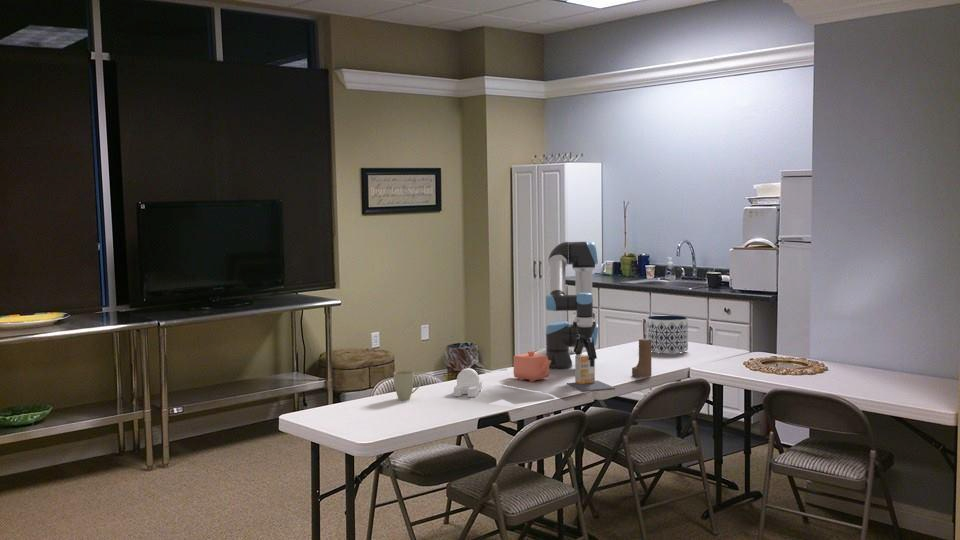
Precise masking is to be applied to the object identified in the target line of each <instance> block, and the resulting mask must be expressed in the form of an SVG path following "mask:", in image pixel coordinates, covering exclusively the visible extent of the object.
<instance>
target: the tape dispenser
mask: <svg viewBox="0 0 960 540" xmlns="http://www.w3.org/2000/svg"><path fill="white" fill-rule="evenodd" d="M481 389H482V390H483V381H482V380H480V376H479V374H478V372H477V371H476V370H475V369H473V368H471V367H468V368H464V369H462V370H461V371H460V372H459V373H458V374H457V376H456V385H455V386H454V387H453V396H454V397H461V396H462V395H467V397H468V398H474V397H476V396H477V395H478V394H479V393H480V392H481V391H482V390H481ZM480 390H481V391H480ZM479 391H480V392H479Z"/></svg>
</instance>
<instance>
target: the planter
mask: <svg viewBox="0 0 960 540" xmlns="http://www.w3.org/2000/svg"><path fill="white" fill-rule="evenodd" d="M688 319H689V317H687V316H682V315H673V314H672V315H670V314H669V315H668V314H664V315H662V314H661V315H659V314H658V315H650V316H647V319H646V321H647V324H646V325H647V326H646V329H647V331H646V332H647V335H646V339H650V340H651V351H653V352H659V353H680V352H685V351H687V350H688V351H689V347H688V346H689V341H688V340H689V327H688V325H689V320H688ZM653 352H652V353H653ZM659 353H658V354H659Z"/></svg>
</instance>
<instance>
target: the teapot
mask: <svg viewBox="0 0 960 540" xmlns="http://www.w3.org/2000/svg"><path fill="white" fill-rule="evenodd" d="M550 363H551V360H548V357H547V356H546V354H538V353H535V351H532V350H529V351H527V353H521V354H515V355H513V376H514V378H517V379H519V381H524V380H529V383H536V381H538V380H539V381H542V380H544V379H545V378H549V375H550V369H549V365H550Z"/></svg>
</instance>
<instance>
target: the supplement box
mask: <svg viewBox="0 0 960 540" xmlns="http://www.w3.org/2000/svg"><path fill="white" fill-rule="evenodd" d="M574 357H575V358H574V361H575V363H574V367H575V368H574V369H575V370H574V374H575V375H574V376H575V377H574V378H575V380H574V382H575V383H578V384H587V383H595V381H596V359H594V373H591V374H589V373H588V358H589V357H588V354H582V355H576V354H575V356H574Z"/></svg>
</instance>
